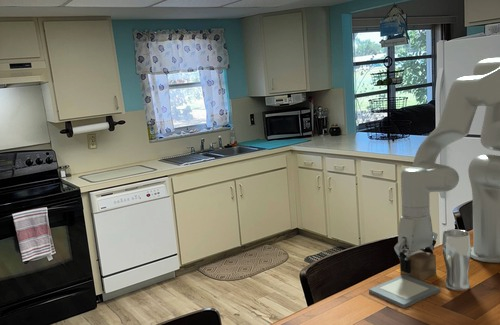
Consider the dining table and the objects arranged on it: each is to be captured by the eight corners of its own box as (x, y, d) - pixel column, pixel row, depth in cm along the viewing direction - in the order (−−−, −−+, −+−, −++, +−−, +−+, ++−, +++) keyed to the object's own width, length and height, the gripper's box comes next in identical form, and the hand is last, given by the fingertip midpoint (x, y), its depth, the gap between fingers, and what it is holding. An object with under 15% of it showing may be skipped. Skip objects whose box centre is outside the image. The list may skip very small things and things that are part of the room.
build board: (403, 277, 134) (403, 274, 134) (439, 291, 124) (439, 287, 124) (369, 292, 127) (368, 288, 127) (404, 308, 117) (403, 304, 117)
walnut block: (416, 267, 141) (415, 248, 140) (436, 274, 135) (435, 254, 134) (400, 274, 137) (399, 254, 136) (420, 281, 131) (419, 261, 130)
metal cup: (474, 291, 122) (473, 237, 120) (446, 291, 123) (444, 237, 121) (467, 280, 129) (466, 228, 126) (441, 280, 130) (439, 229, 128)
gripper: (424, 202, 140) (425, 256, 143) (384, 214, 131) (386, 271, 134) (446, 207, 134) (447, 263, 136) (405, 219, 125) (407, 279, 128)
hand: (417, 267), depth 135 cm, fingers open, 9 cm apart
